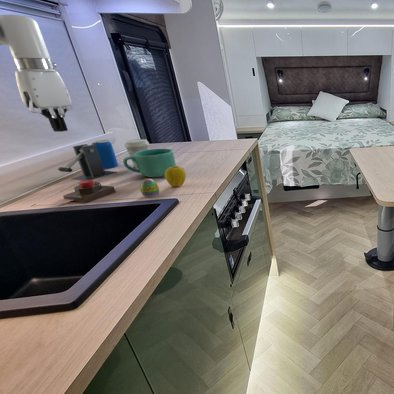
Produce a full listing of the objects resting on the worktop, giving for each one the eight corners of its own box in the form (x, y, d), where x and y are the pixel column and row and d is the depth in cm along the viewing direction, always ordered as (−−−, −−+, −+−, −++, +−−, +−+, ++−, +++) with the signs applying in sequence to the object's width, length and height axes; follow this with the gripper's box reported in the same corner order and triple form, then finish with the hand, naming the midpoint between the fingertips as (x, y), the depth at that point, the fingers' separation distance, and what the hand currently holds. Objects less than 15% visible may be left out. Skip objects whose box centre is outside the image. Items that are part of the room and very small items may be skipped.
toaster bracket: (89, 183, 108) (77, 149, 103) (71, 181, 110) (58, 148, 105) (118, 174, 117) (108, 143, 113) (101, 173, 120) (90, 142, 115)
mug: (179, 169, 123) (173, 147, 120) (176, 177, 113) (170, 153, 109) (132, 174, 117) (125, 151, 113) (125, 183, 106) (117, 158, 103)
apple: (171, 190, 99) (166, 168, 96) (165, 186, 103) (159, 164, 100) (191, 185, 104) (186, 164, 101) (184, 182, 107) (179, 161, 104)
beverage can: (103, 167, 127) (94, 140, 122) (121, 166, 129) (112, 139, 124) (97, 171, 121) (87, 143, 117) (116, 170, 123) (106, 142, 119)
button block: (84, 204, 89) (79, 191, 88) (65, 201, 91) (60, 189, 89) (116, 192, 98) (112, 181, 97) (98, 190, 100) (94, 179, 98)
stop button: (86, 188, 91) (84, 183, 90) (77, 187, 92) (75, 182, 91) (97, 185, 94) (95, 179, 94) (89, 184, 95) (87, 179, 94)
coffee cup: (130, 172, 120) (121, 143, 115) (133, 167, 127) (125, 140, 122) (154, 169, 124) (147, 141, 119) (156, 164, 131) (148, 138, 126)
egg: (143, 200, 91) (137, 182, 89) (142, 195, 95) (137, 178, 93) (161, 196, 94) (156, 179, 92) (159, 192, 98) (155, 175, 95)
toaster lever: (72, 173, 104) (66, 168, 102) (62, 172, 105) (55, 168, 103) (96, 150, 111) (90, 145, 109) (86, 149, 112) (80, 145, 110)
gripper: (53, 67, 90) (75, 127, 97) (-9, 65, 76) (22, 135, 83) (73, 66, 89) (94, 127, 96) (14, 64, 75) (44, 135, 82)
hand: (61, 130), depth 90 cm, fingers closed
